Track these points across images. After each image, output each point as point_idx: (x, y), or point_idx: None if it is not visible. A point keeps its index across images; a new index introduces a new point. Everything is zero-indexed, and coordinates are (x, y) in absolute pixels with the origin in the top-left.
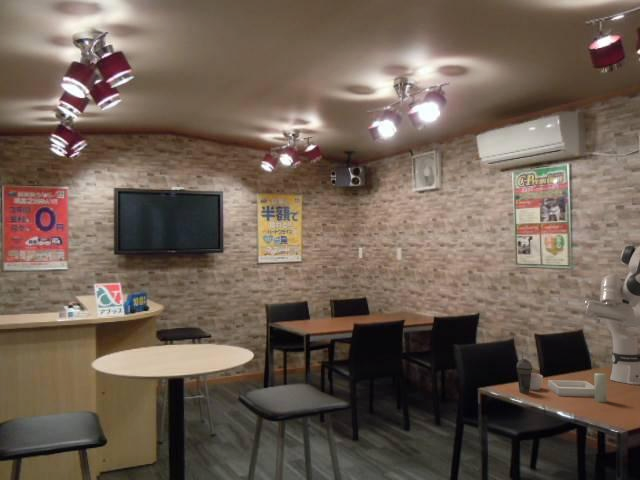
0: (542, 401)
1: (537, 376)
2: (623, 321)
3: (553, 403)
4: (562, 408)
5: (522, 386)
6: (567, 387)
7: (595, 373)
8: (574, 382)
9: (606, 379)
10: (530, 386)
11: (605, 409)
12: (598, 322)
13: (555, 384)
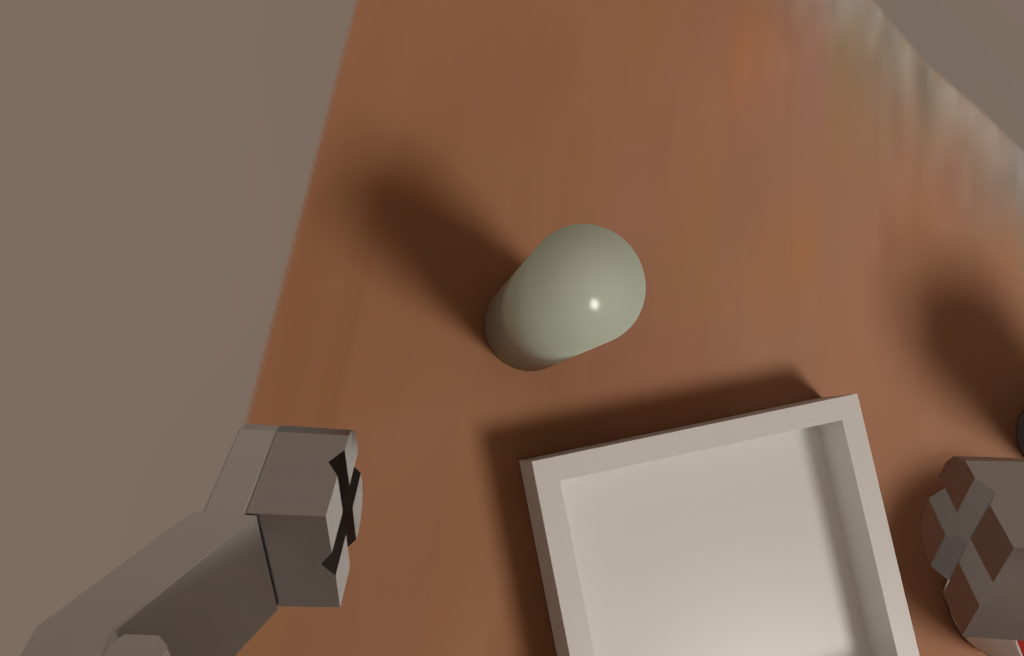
0: (929, 194)
1: None
2: (135, 603)
3: (861, 159)
4: (811, 44)
5: None
6: (750, 652)
7: (630, 304)
8: None
9: (521, 268)
10: None
11: (534, 86)
12: (986, 462)
13: (874, 531)
